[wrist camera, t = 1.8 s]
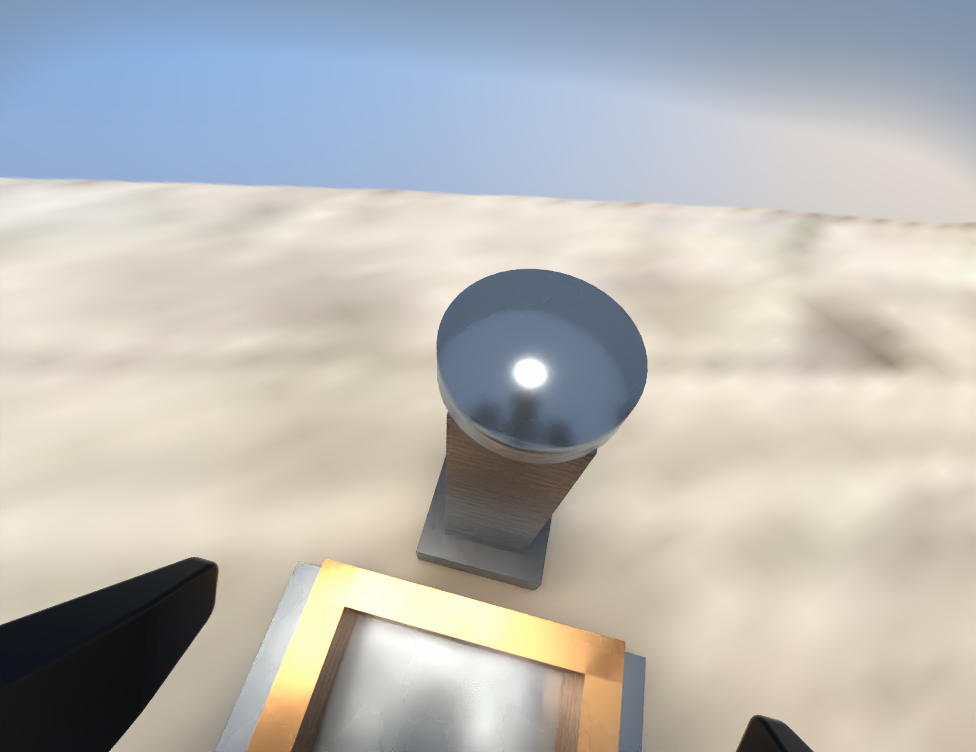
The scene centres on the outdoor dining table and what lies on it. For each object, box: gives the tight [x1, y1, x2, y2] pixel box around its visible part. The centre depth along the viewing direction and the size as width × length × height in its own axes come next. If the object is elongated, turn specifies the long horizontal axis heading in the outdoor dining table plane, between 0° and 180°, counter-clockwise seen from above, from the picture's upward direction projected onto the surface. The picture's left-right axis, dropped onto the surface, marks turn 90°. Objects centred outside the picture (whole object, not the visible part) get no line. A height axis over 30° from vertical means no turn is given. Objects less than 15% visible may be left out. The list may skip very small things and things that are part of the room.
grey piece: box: [416, 269, 648, 590], centre depth 15 cm, size 5×5×13 cm
